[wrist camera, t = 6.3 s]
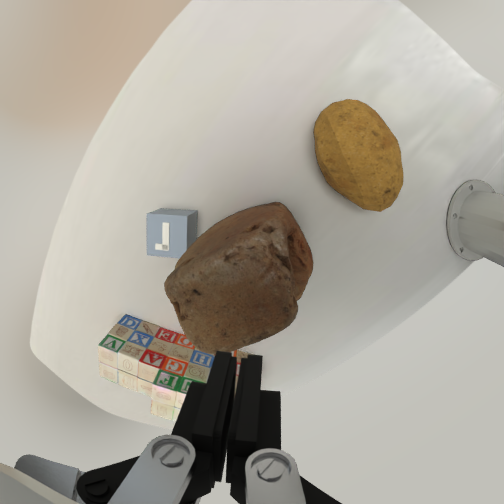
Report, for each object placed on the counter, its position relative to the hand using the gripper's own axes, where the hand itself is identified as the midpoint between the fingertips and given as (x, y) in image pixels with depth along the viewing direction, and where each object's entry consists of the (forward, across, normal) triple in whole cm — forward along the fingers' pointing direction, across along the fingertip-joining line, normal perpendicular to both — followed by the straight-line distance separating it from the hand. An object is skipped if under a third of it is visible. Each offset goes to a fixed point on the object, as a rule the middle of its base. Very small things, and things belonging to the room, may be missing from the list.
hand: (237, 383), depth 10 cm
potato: (+28, -10, -11) cm, 32 cm away
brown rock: (+28, +1, 0) cm, 28 cm away
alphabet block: (+27, +11, 0) cm, 29 cm away
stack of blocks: (+28, +10, +19) cm, 35 cm away
